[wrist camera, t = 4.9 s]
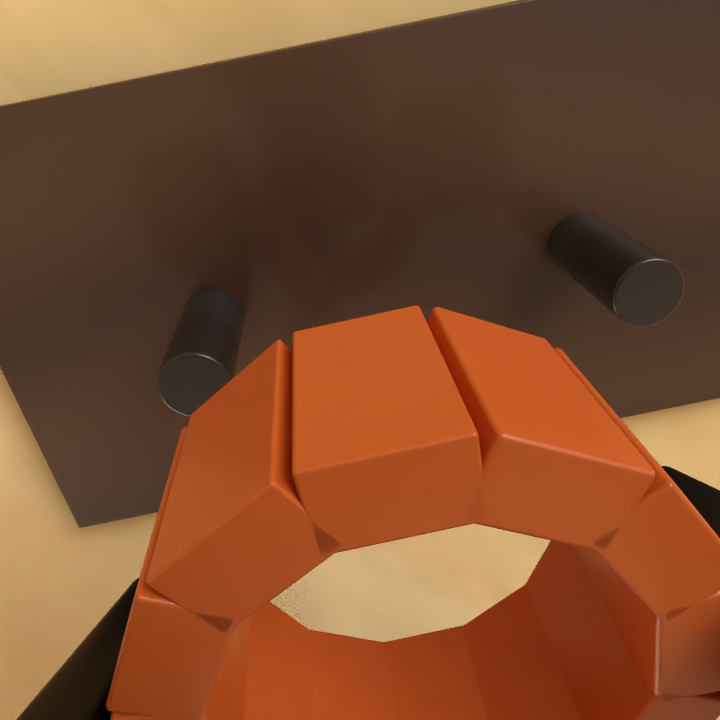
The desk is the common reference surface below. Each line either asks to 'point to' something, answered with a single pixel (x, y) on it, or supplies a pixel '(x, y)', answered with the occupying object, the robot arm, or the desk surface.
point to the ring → (416, 517)
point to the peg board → (361, 217)
